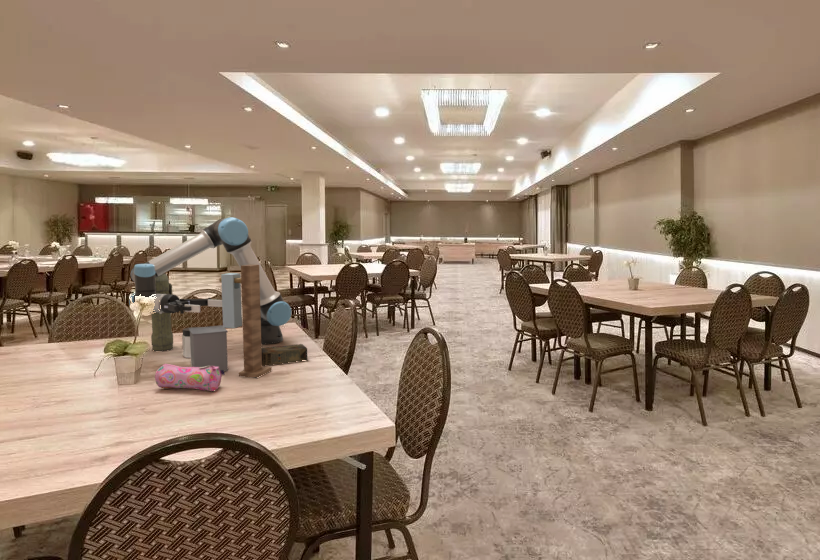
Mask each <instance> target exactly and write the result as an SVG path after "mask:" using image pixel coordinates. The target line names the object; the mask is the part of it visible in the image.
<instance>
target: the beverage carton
mask: <svg viewBox="0 0 820 560" xmlns="http://www.w3.org/2000/svg"><path fill="white" fill-rule="evenodd" d="M261 350H262V366H265V365H269V366H274V365H273V364H277V365H283V364H282V363H287V364H289V363H288V362H295V363H297V362H296V361H302V360H307V361H308V348H307V346H305V345H304V344H302V343H300V344H291V345H281V346H280V345H279V346H267V347H261ZM265 367H266V366H265Z"/></svg>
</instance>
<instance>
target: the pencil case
mask: <svg viewBox="0 0 820 560" xmlns="http://www.w3.org/2000/svg"><path fill="white" fill-rule="evenodd" d="M218 368H219V367H215V366H210V365H209V366H205V367H191V366H180V365H179V366H178V365H175V364H169V363H164V364H162V365H161V366H159V368H158V369H157V370H156V371H155V375H154V378H155V382H156V386H158V388H161V389H164V390H166V389H190V390H191V389H196V390H199V391H205V390H207V391H208V392H212V391H214V390H216V389H217V390H218V389H219V387H220V386H221V382H222V381H221V380H222V375H224V376H225V375H226V373H225V371H224V370H220V369H218ZM217 390H216V391H217ZM207 391H206V392H207Z"/></svg>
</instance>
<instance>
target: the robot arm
mask: <svg viewBox="0 0 820 560" xmlns="http://www.w3.org/2000/svg"><path fill="white" fill-rule="evenodd" d="M251 244H252V239H251V237H250V235H249V228H248V226H247V224H246V223H245V222H244V221H243V220H241V219H239V218H237V217H232V216H231V217H223V218H219V219H217V220H216V221H214V222H213V223H212V224H209V225H208V226H207V227H205V228H203V229H201V231H200V233H199V234H196V235H195V236H193V237H191V238H189V239H187V240H185V241H183V242H182V243H180V244H178V245H176V246H174V247H173V248H171V249H168V250H167V251H165V252H163V253H161V254H159V255H157V256H155V257H153V258H152V259H150V260H148V261H147V262H145V263H136V264H135V265H134V267H133V268H132V269H131V272H130V277H131V280H132V282H134V293H132V294H131V295H130V297H129V298H131V297H132V302H133V303H134V302H135V296H139V295H140V294H141V296H145V297H149V296H151V295H152V294H156V281H155V278H156V277H158V276H160V275H161V274H163V273H165V274H166V272H170V270H172V269H174V268H176V267H177V266H180V265H181V264H183V263H186V262H187V261H189V260H190V259H193V258H194V257H196V256H198V255H200V254H201V253H203V252H205V251H207V250H209V249H215V248H217V247H219V246H221V245H222V246H223V248H224V249H225V251H226V252H227V254H230V255H232V256H233V258H234V260H235V261H236V263H237V265H238V266H239V269H240V270H241V266H242V265H250V264H251V265H259V276H260V313H261V345H273V344H277V343H281V342H283V341H284V334H283V333H282V329H281V326H284V325H285V324H287V323H288V322H289V321H290V319H291V316H292V307H291V306H290V304H289V303H288V302H286V301H285V300H284V298H283V296H282V294H281V292H280V291H276V290H275V289H274V287H273V285H272V282H271V281H270V279H269V278H268V275H267V274H266V271H265V270H264V268H263V267H262V264H261V263H260V261H259V259H258V257H257V255H256V254H255V251H254V249H253V248H252V245H251ZM134 294H135V295H134ZM132 295H134V296H132ZM154 296H156V297H157V298H156V297H155V298H156V299H154V300H155V301H154V303H155V306H154V309H153V310H155V311H153V312H159V314H162V313H171V314H177V313H179V312H180V314H181V315H182V314H184V313H185V312H186V313H201V307H204V306H205V307H215V308H222V299H212V298H210V297H208V298H180V297H179V296H178V295H176V294H173V295H171V294H156V295H154ZM154 296H152V297H154ZM159 300H160V302H159ZM128 305H129V306H130V299H128ZM160 305H161V309H160ZM158 309H159V310H160V311H159V310H158Z"/></svg>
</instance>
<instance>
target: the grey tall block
mask: <svg viewBox="0 0 820 560" xmlns="http://www.w3.org/2000/svg"><path fill="white" fill-rule="evenodd" d="M220 277H221V282H220V283H221V300H222V307H221V308H222V326H223V328H225V329H237V328H240V327H243V320H242V288H241V283H234V278H241V273H236V272H235V273H234V272H229V273H222V274H220Z"/></svg>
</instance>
